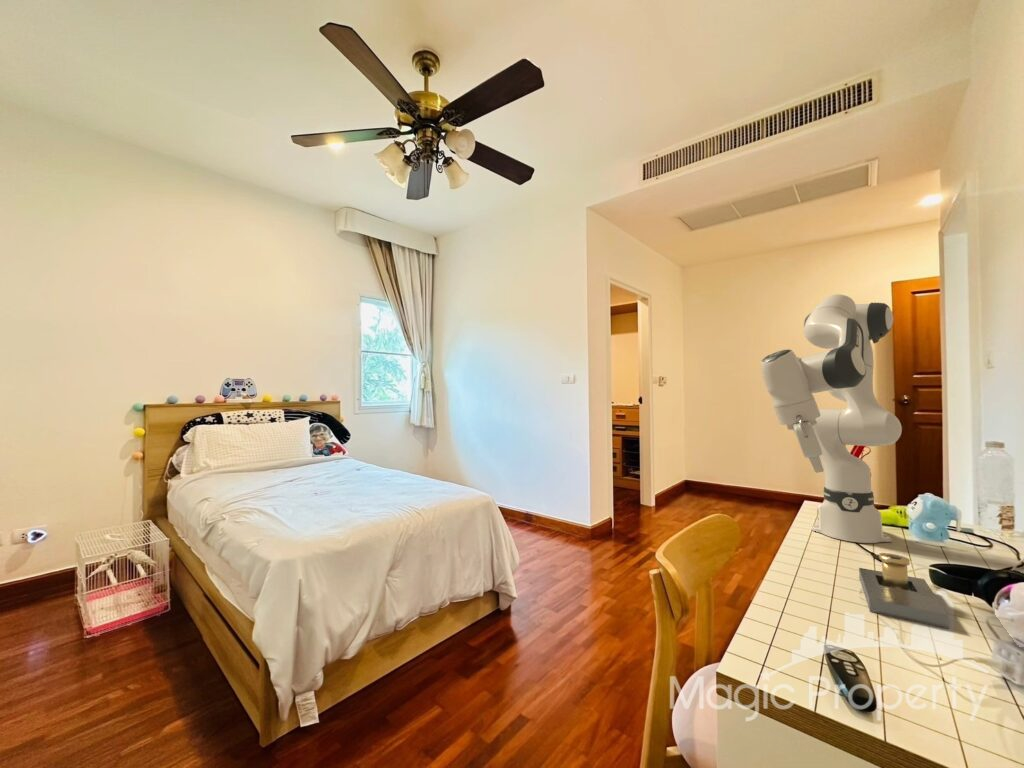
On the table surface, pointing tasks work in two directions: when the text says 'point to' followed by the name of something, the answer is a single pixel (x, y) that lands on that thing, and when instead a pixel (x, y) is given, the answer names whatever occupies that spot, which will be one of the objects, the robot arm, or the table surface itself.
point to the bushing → (894, 570)
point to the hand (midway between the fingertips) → (817, 466)
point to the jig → (903, 599)
